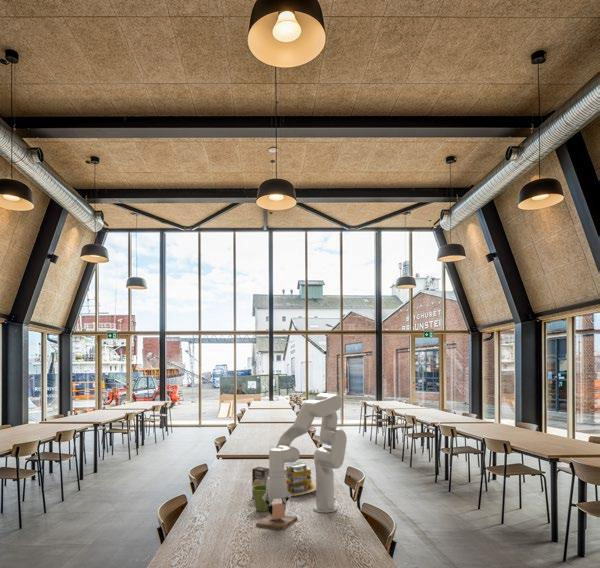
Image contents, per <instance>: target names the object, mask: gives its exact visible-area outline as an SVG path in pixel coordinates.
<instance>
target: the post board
mask: <svg viewBox="0 0 600 568" xmlns="http://www.w3.org/2000/svg"><path fill="white" fill-rule="evenodd" d="M297 521H298V516H294V515H293V516H292V515H288V514H285V518H279V519H272V518H271V517H270V516H269V515H267V516H266V517H264V518H261V519H260V520H259V521H257V522H256V523H255V525H256V526H255V527H258V528H263V529H270V530H275V531H276V530H277V531H281V532H282V531H283V530H285V529H286V528H288V527H289V526H291V525H292V524H294V523H296V522H297Z"/></svg>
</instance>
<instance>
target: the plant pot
mask: <svg viewBox="0 0 600 568" xmlns="http://www.w3.org/2000/svg"><path fill="white" fill-rule="evenodd" d="M252 489H253V493H254V498H253V499H254V503H255V509H256V510H255V511H259V512H267V511H268V504H267V503H266V502H265V501H264V500H263V499H262V497H263V496H264V494H265V493H266V485H257V486H254V487H252V486H251V490H252ZM266 499H267V500H268V499H269V498H267V497H266Z"/></svg>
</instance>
